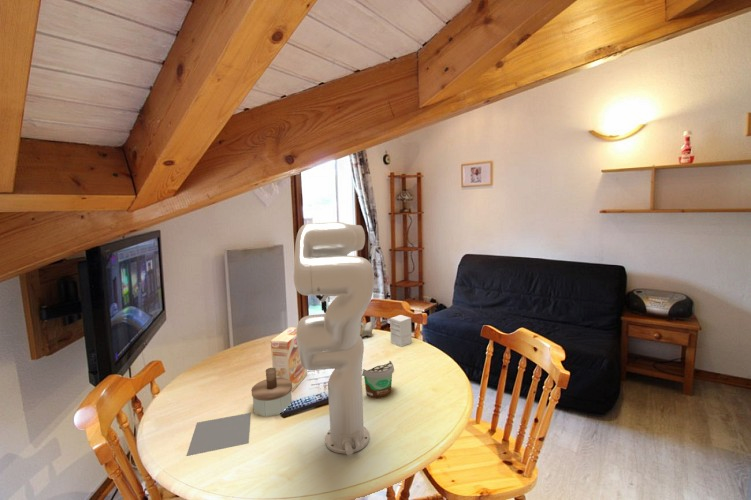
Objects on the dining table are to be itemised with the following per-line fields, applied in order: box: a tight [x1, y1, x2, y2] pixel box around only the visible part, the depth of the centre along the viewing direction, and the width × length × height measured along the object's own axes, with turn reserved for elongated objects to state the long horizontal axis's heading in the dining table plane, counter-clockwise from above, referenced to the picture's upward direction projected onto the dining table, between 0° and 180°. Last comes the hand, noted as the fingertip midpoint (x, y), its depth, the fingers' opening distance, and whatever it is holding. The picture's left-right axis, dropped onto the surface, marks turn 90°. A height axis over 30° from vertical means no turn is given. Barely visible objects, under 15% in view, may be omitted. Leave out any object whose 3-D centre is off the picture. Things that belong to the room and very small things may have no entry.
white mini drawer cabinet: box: [389, 314, 413, 348], centre depth 173 cm, size 7×7×13 cm
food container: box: [362, 360, 395, 399], centre depth 127 cm, size 12×6×10 cm, turn 123°
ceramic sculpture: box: [360, 320, 374, 339], centre depth 183 cm, size 11×9×15 cm
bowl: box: [252, 391, 293, 418], centre depth 121 cm, size 12×12×6 cm
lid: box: [250, 367, 292, 401], centre depth 120 cm, size 13×13×7 cm
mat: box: [185, 412, 252, 457], centre depth 108 cm, size 16×16×1 cm
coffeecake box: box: [270, 326, 308, 393], centre depth 137 cm, size 15×7×20 cm, turn 167°
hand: (338, 310), depth 125 cm, fingers open, 9 cm apart
